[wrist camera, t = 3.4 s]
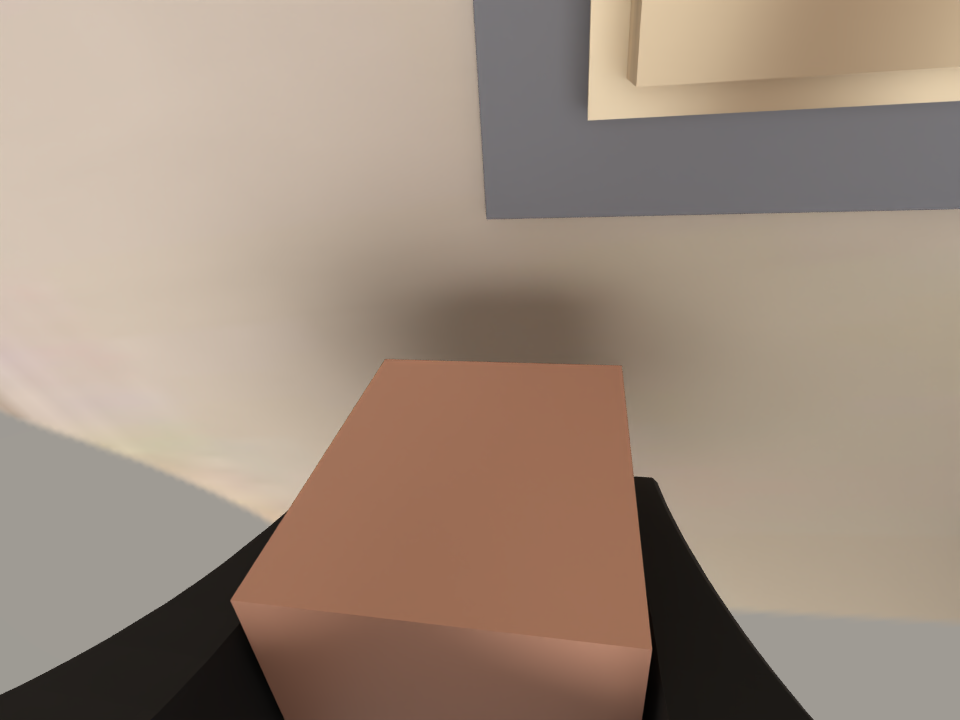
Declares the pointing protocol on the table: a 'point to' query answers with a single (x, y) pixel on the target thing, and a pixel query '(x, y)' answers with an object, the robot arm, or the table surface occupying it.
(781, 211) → the mat
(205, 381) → the table surface
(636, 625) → the terracotta block
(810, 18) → the oak slab top
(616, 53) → the oak slab base
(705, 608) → the robot arm
